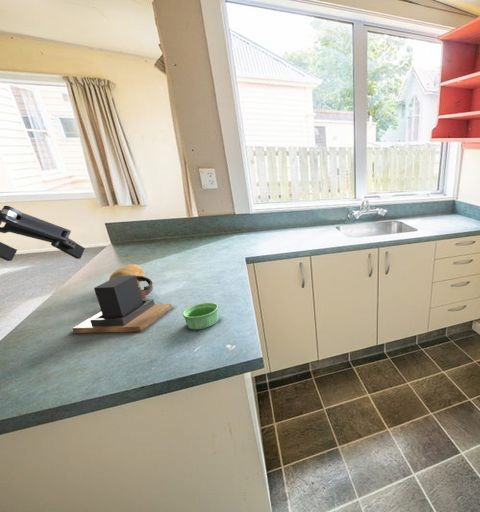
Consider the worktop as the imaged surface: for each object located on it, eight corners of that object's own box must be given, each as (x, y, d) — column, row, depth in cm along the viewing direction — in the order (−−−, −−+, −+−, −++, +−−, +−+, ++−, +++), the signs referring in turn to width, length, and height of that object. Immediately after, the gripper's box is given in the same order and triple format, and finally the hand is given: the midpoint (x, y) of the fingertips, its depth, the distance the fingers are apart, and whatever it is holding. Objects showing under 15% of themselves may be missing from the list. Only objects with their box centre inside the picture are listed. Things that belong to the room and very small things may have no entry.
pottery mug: (140, 290, 110) (147, 272, 108) (153, 306, 107) (161, 287, 105) (98, 295, 99) (106, 275, 97) (112, 312, 96) (120, 292, 94)
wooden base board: (73, 332, 82) (69, 321, 81) (114, 308, 95) (111, 299, 94) (141, 331, 83) (138, 320, 82) (172, 307, 96) (169, 298, 95)
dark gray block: (105, 323, 84) (93, 288, 81) (127, 308, 93) (117, 275, 89) (124, 322, 85) (113, 287, 81) (144, 307, 93) (135, 275, 90)
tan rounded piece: (151, 278, 120) (146, 259, 118) (141, 291, 108) (135, 271, 105) (121, 281, 116) (115, 262, 114) (107, 296, 104) (100, 275, 101)
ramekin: (206, 313, 93) (203, 300, 92) (227, 318, 90) (225, 305, 89) (178, 327, 85) (175, 313, 84) (200, 333, 82) (197, 319, 81)
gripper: (-187, 214, 44) (-27, 271, 63) (3, 212, 47) (102, 267, 66) (-151, 176, 48) (-9, 241, 67) (25, 176, 51) (113, 238, 70)
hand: (47, 254), depth 66 cm, fingers open, 13 cm apart
